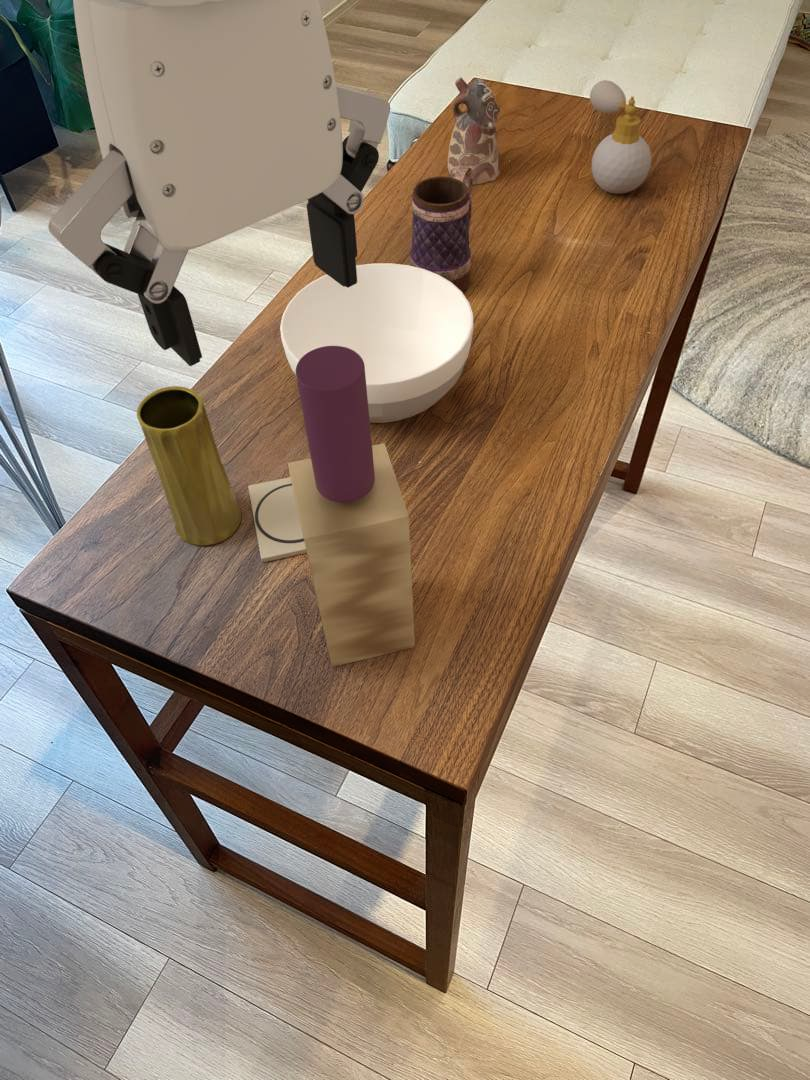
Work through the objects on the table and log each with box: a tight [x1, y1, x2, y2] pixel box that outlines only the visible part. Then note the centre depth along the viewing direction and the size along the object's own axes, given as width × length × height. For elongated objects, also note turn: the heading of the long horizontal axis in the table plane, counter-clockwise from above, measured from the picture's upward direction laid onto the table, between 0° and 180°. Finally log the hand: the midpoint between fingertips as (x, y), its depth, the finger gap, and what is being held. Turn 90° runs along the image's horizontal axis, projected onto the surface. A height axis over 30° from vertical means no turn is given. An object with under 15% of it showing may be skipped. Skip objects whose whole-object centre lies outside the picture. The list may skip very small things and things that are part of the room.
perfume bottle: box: [589, 79, 652, 195], centre depth 106 cm, size 8×10×12 cm
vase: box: [136, 385, 242, 547], centre depth 72 cm, size 6×6×14 cm
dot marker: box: [295, 346, 375, 503], centre depth 52 cm, size 4×4×11 cm
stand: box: [287, 442, 416, 668], centre depth 63 cm, size 7×7×17 cm
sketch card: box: [247, 476, 307, 563], centre depth 77 cm, size 11×9×1 cm
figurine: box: [447, 77, 501, 186], centre depth 109 cm, size 7×7×12 cm
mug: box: [409, 164, 474, 293], centre depth 95 cm, size 10×7×12 cm
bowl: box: [279, 262, 475, 424], centre depth 84 cm, size 19×19×9 cm
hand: (262, 311), depth 44 cm, fingers open, 9 cm apart
